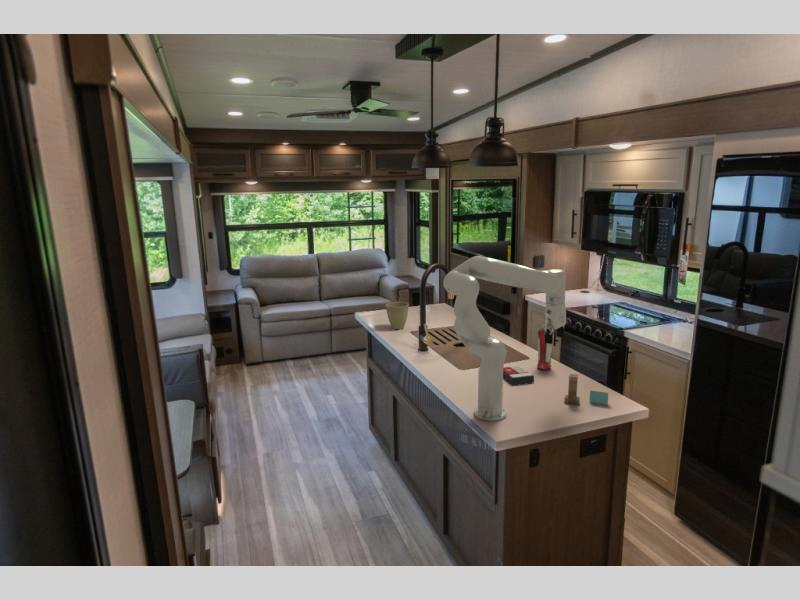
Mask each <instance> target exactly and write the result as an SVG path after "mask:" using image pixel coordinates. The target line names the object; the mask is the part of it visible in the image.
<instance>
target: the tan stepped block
mask: <svg viewBox="0 0 800 600" xmlns="http://www.w3.org/2000/svg"><path fill="white" fill-rule="evenodd" d="M578 377H579V375H578V374H574V373H570V374H569V377H568V392H567V393H568V394H566V395H565V396H564V404H567V403H568V404H569V405H573V406H579V405H580V403H581V402H580V400H581V397H579V396H578V395H577V394H578V379H579V378H578Z"/></svg>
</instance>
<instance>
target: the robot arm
mask: <svg viewBox="0 0 800 600" xmlns="http://www.w3.org/2000/svg"><path fill="white" fill-rule="evenodd" d="M478 279H480V280H483V281H486V282H491V283H496V284H501V285H506V286H511V287H514V288H520V289H527V290H532V291H538V292H543V293H545V311H544V313H545V324H544V325H542V329H543V328H544V334H545V343H549V344H552V343H553V342H554V333H553V334H552V332H554V330H555V333H556V334H555V337H557V338H564V337H565V325H566V324H567V309H566V308H567V307H566V271H565V270H563V269H561V268H551V269H548V270H538V269H534V268H530V267H528V266H524V265H520V264H518V263H512V262H507V261H505V260H501V259H496V258H492V257H486V256H481V255H475V256H472V257H470V258H468V259H467V260H465V261H464V262H462V263H461V264H459V265H458V266H456V267H455V268H453V269H452V270H450V271H449V272H448V273H447V274H446V275H445V277H444V279H443V288H444V289H445V291H446V292H447V293H448V294H451V295H454V296H456V297H455V302H454V304H453V312H454V316H455V317H456V318H455V320H454V323H453V324H454V325H453V327H454V332H455V334H456V335H457V336H458V338H459V339H460V341H461V342H462V343H463V345H464V347H465V349H467V350H468V352H469V353H470V354H472V355H474V356H475V357H477V358H479V359H481V363H480V366H479V367H478V375H477V377H478V379H477V380H478V381H477V383H478V385H477V388H478V390H477V406H476V407H475V408H474V410H473V415H474V416H475V417H476V418H478V419H480V420H483V421H488V422H495V421H496V422H497V421H500V420H503V419H505V418H506V416H507V411H506V409H504V408H503V399H504V398H503V397H504V396H503V395H504V391H503V389H504V378H503V368H504V366H505V361H506V356H507V348H506V345H505V344H504V342H503V341H502V340H501V339H499V338H496V337H495V336H494V337H493V336H491V328H490V325H489V324H488V321H486V320H485V318H484V316H483V315H482V313H481V312H480V310H479V308H478V307H477V299H478V296H479V294H480V293H479V292H480V283H479V281H478ZM549 329H550V331H549ZM552 345H553V344H552Z"/></svg>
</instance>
